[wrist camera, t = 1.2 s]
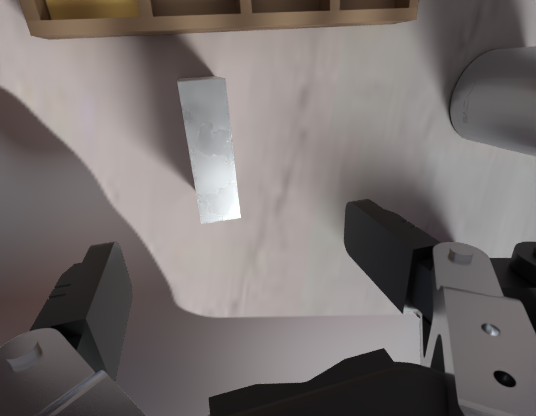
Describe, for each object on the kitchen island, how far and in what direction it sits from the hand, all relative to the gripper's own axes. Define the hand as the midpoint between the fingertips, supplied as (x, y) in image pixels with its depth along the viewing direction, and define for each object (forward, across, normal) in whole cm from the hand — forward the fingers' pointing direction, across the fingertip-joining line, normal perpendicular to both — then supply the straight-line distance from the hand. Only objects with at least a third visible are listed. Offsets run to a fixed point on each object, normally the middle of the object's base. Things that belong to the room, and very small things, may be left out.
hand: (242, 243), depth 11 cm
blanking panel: (+19, 0, 0) cm, 19 cm away
